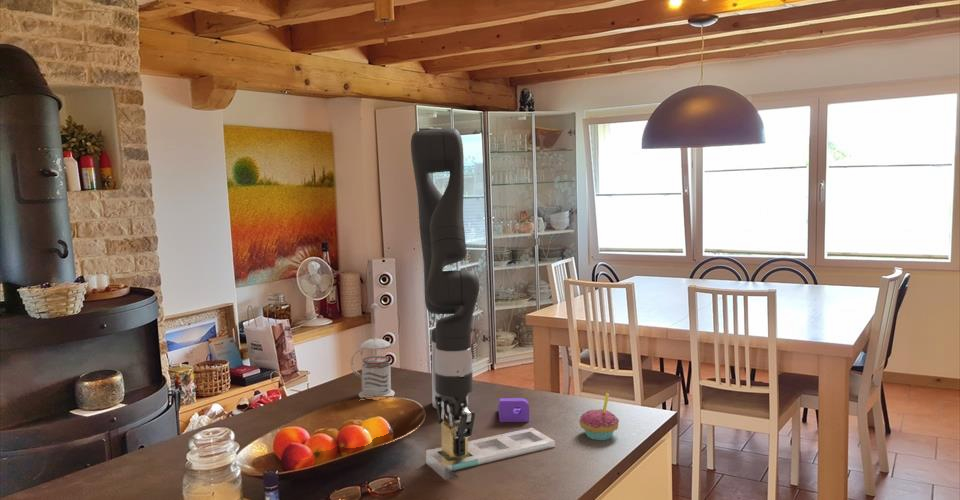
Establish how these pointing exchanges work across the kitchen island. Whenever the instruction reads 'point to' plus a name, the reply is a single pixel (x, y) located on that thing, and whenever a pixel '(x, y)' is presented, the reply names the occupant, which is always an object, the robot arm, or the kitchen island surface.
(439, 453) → the white compartment tray
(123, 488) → the kitchen island surface
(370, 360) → the french press
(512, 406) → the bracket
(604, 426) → the cupcake
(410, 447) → the kitchen island surface
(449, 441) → the brass block
